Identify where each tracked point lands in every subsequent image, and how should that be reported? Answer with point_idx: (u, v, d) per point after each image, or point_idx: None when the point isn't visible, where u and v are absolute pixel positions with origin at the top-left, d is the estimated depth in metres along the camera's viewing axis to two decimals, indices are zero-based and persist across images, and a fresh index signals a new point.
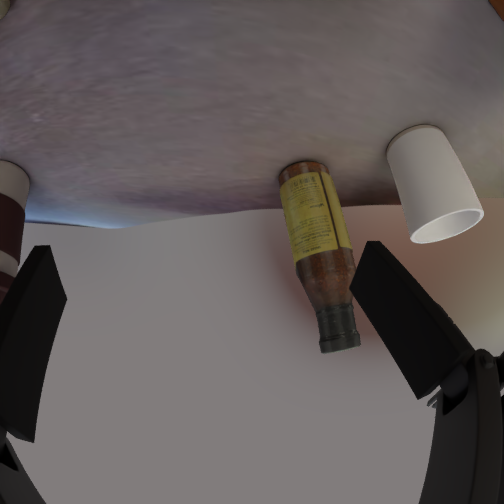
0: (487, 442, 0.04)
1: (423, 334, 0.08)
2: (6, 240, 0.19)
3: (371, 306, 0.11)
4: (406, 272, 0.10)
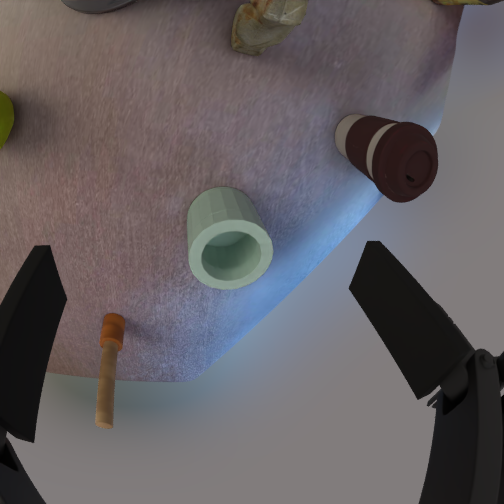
0: (487, 442, 0.04)
1: (423, 334, 0.08)
2: None
3: (371, 306, 0.11)
4: (406, 272, 0.10)
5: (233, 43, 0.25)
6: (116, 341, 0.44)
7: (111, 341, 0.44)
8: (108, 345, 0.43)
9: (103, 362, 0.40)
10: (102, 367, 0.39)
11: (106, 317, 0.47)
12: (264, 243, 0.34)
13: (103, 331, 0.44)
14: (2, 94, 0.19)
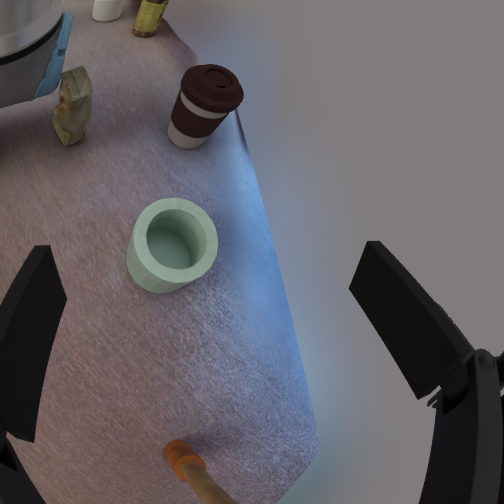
0: (487, 442, 0.04)
1: (423, 334, 0.08)
2: None
3: (371, 306, 0.11)
4: (406, 272, 0.10)
5: (65, 140, 0.32)
6: (190, 459, 0.28)
7: (185, 461, 0.28)
8: (184, 467, 0.26)
9: (191, 483, 0.23)
10: (195, 487, 0.22)
11: (164, 453, 0.31)
12: (188, 207, 0.33)
13: (170, 463, 0.28)
14: None
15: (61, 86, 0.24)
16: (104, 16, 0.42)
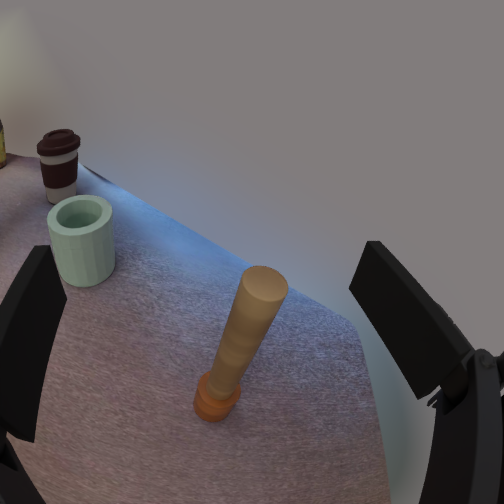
0: (487, 442, 0.04)
1: (423, 334, 0.08)
2: None
3: (371, 306, 0.11)
4: (406, 272, 0.10)
5: None
6: None
7: (207, 382, 0.26)
8: (207, 382, 0.25)
9: (214, 374, 0.22)
10: (215, 367, 0.22)
11: (196, 410, 0.28)
12: (78, 198, 0.37)
13: (200, 402, 0.26)
14: None
15: None
16: None
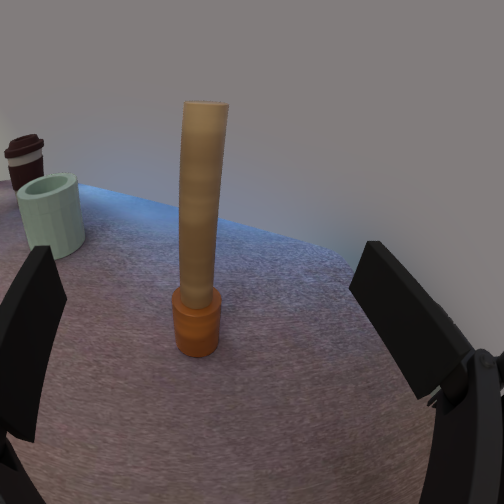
0: (487, 442, 0.04)
1: (423, 334, 0.08)
2: None
3: (371, 306, 0.11)
4: (406, 272, 0.10)
5: None
6: None
7: None
8: (180, 289, 0.23)
9: (181, 260, 0.21)
10: (180, 245, 0.20)
11: (179, 345, 0.26)
12: (45, 177, 0.34)
13: (178, 322, 0.24)
14: None
15: None
16: None
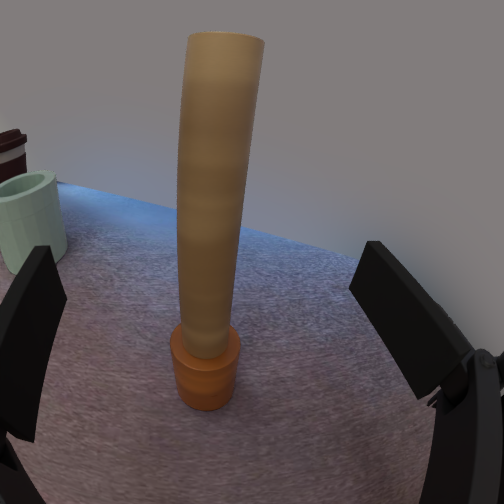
0: (487, 442, 0.04)
1: (423, 334, 0.08)
2: None
3: (371, 306, 0.11)
4: (406, 272, 0.10)
5: None
6: None
7: None
8: (182, 331, 0.16)
9: (182, 295, 0.13)
10: (181, 274, 0.13)
11: (182, 396, 0.18)
12: (21, 175, 0.27)
13: (180, 374, 0.16)
14: None
15: None
16: None
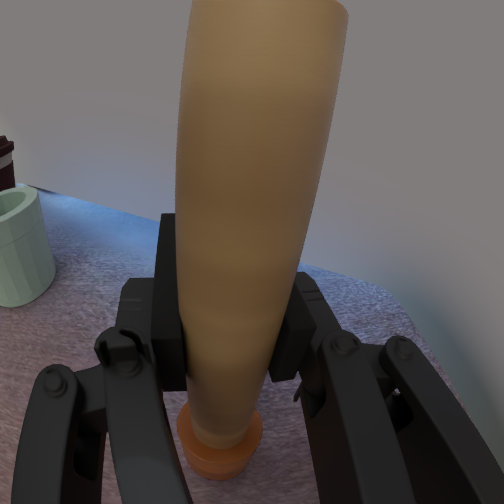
0: (373, 458, 0.04)
1: None
2: None
3: None
4: None
5: None
6: None
7: None
8: (191, 420, 0.11)
9: (193, 402, 0.09)
10: (190, 385, 0.08)
11: (192, 467, 0.14)
12: (2, 193, 0.23)
13: (190, 458, 0.12)
14: None
15: None
16: None
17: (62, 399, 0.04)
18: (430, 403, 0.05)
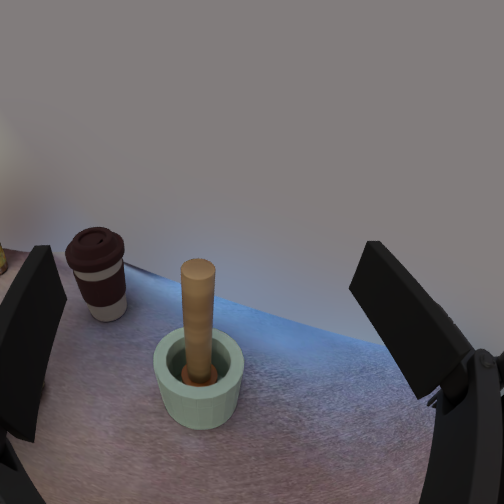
0: (487, 442, 0.04)
1: (423, 334, 0.08)
2: None
3: (371, 306, 0.11)
4: (406, 272, 0.10)
5: None
6: None
7: None
8: (187, 370, 0.30)
9: (187, 357, 0.28)
10: (186, 350, 0.27)
11: None
12: (178, 335, 0.32)
13: None
14: None
15: None
16: None
17: None
18: None
